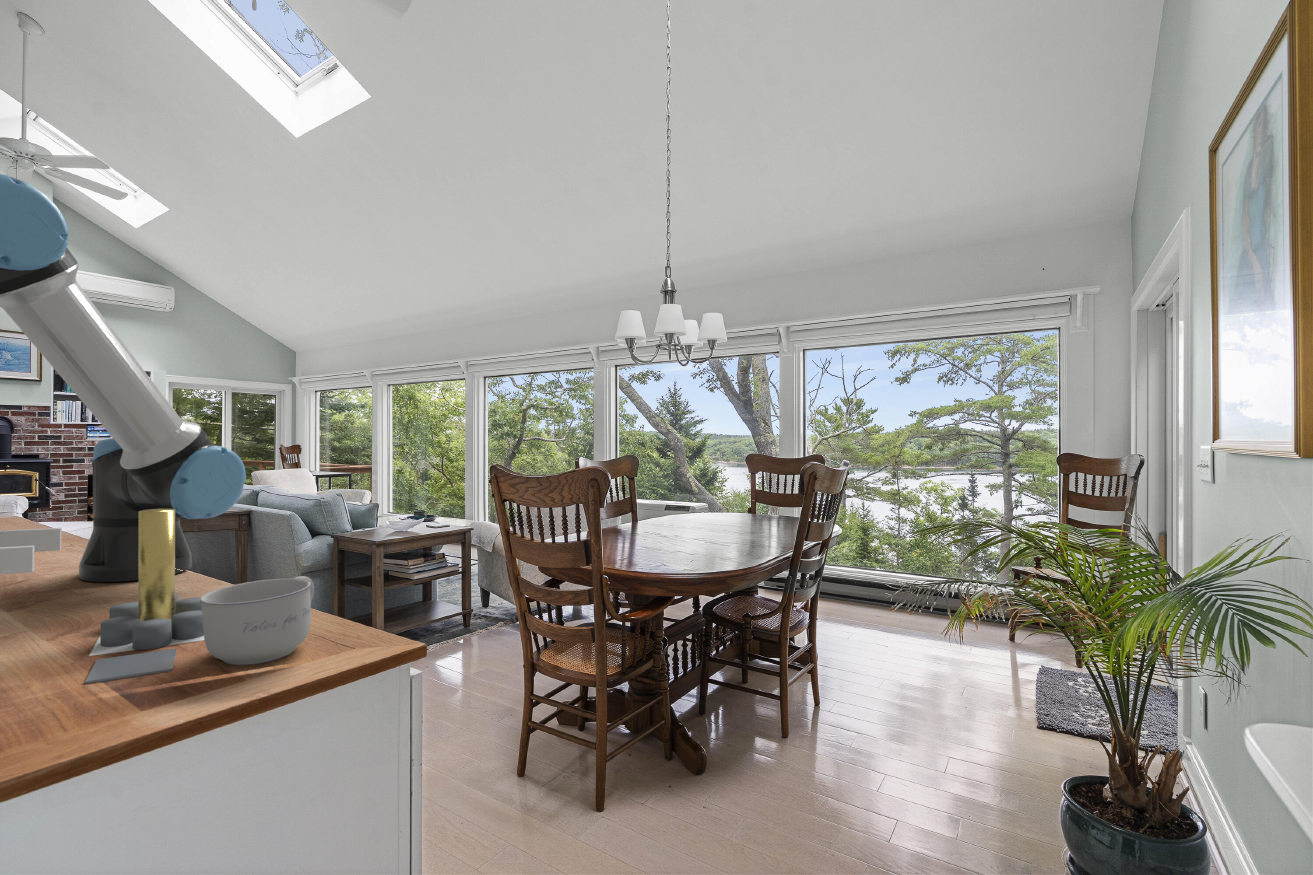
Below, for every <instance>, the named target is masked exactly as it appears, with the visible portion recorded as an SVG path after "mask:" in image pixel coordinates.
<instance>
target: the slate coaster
mask: <svg viewBox="0 0 1313 875" xmlns="http://www.w3.org/2000/svg"><path fill="white" fill-rule="evenodd" d="M177 649H178V648H169V649H164V650H156V651H149V652H142V653H134V654H127V655H121V656H112V657H105V658H98V659H96V660H95V662H94V664H93V666H92V668H91V669H90V672H89V673H88V676H87V677H86V679H85V680H84V685H89V684H96V683H102V682H108V681H116V680H123V679H129V678H135V677H141V676H142V677H143V676H149V675H153V674H160V673H166V672H167V673H168V672H172V671H173V668H174V665H175V660H176V654H177Z"/></svg>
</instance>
